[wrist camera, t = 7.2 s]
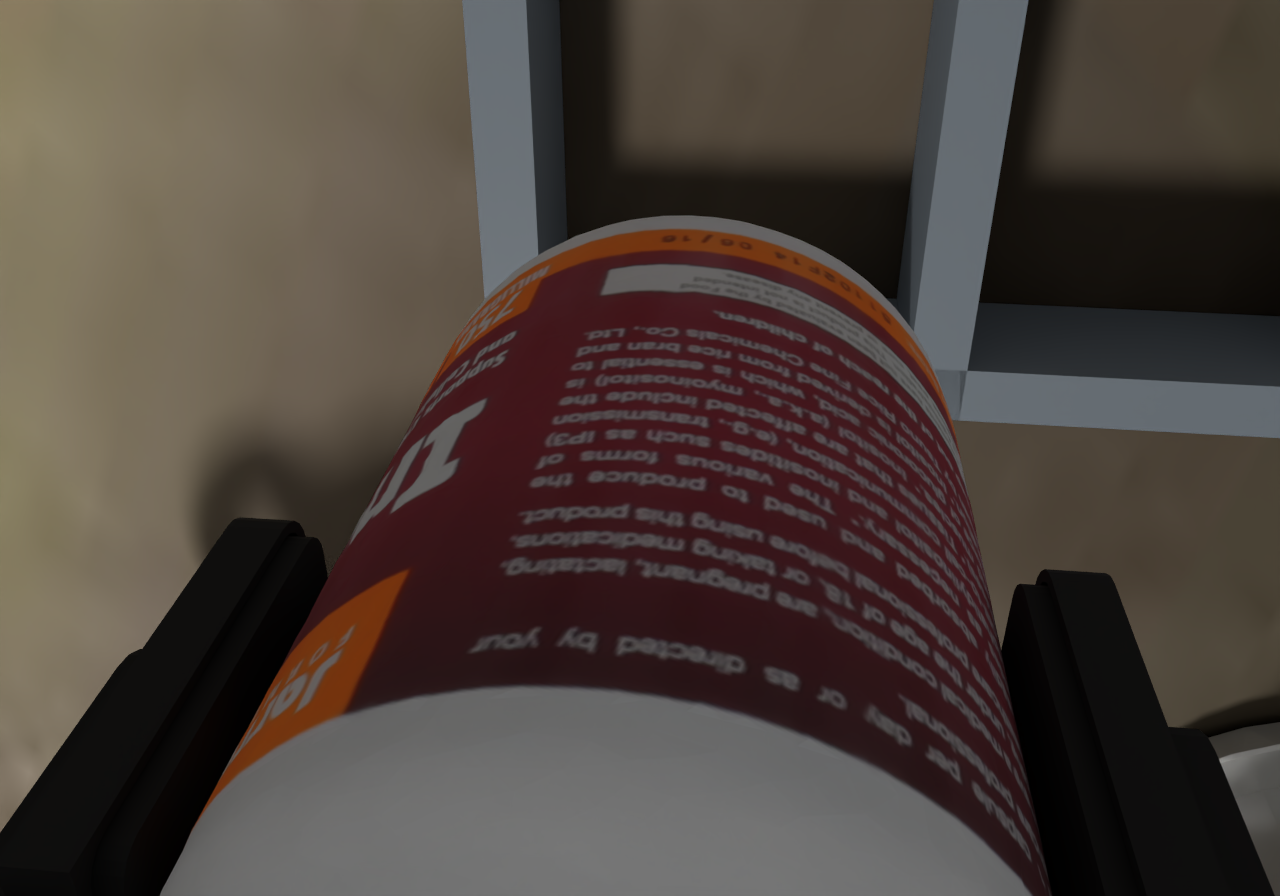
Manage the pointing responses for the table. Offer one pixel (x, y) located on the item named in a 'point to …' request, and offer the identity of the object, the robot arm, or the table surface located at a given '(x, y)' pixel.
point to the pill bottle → (649, 611)
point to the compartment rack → (909, 242)
